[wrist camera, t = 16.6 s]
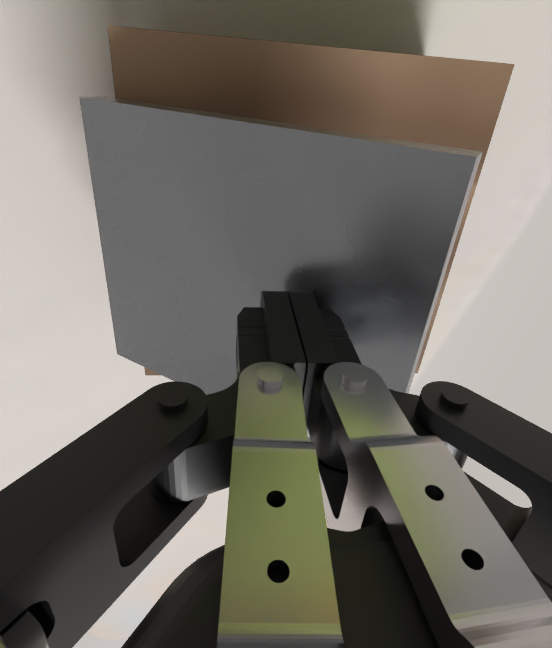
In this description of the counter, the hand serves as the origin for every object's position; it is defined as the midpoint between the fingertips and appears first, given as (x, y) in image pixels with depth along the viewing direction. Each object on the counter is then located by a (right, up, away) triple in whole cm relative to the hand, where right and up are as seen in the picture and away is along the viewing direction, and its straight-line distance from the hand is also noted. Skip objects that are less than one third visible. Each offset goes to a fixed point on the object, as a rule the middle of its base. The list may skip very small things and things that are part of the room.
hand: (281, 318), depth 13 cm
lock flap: (-1, +1, +2) cm, 2 cm away
